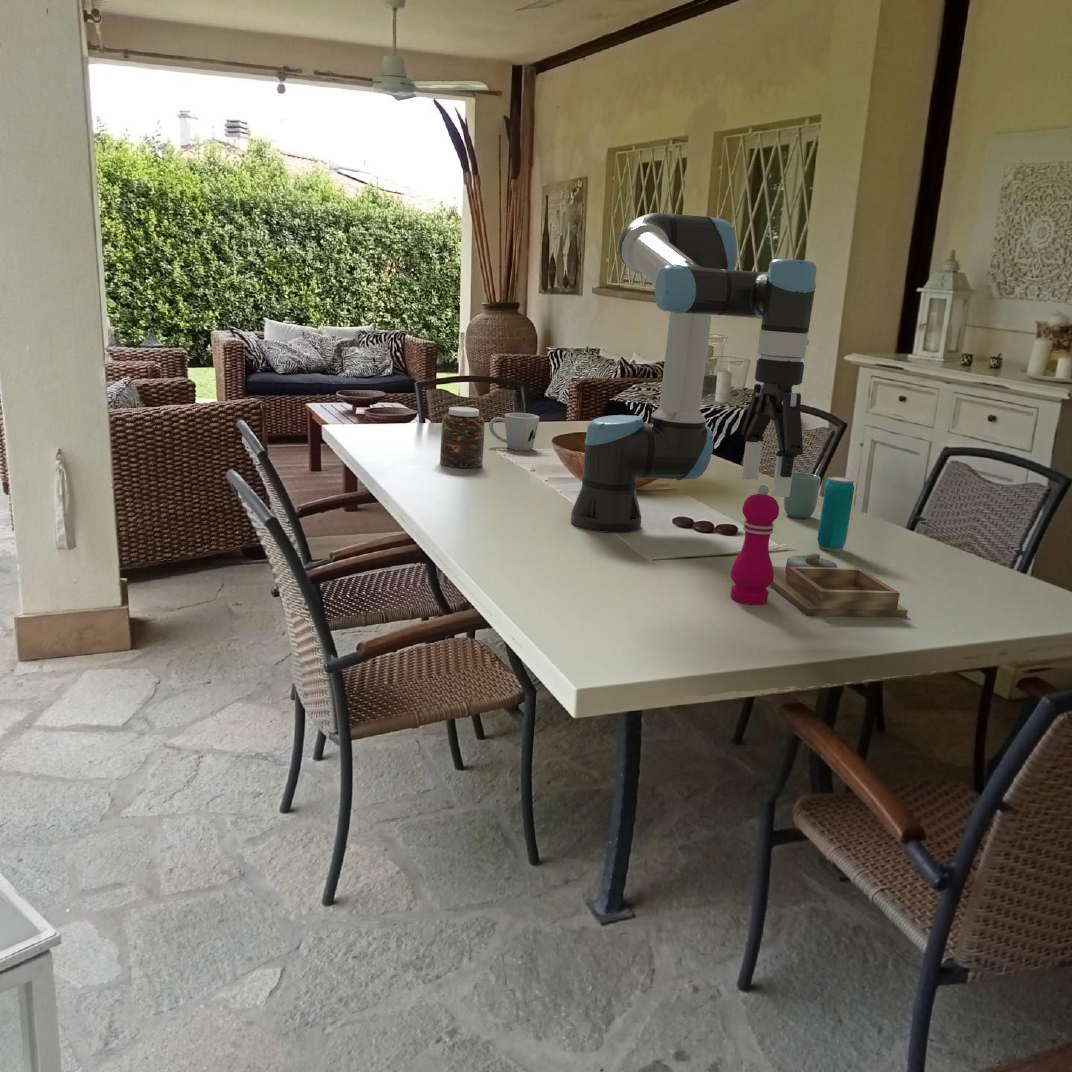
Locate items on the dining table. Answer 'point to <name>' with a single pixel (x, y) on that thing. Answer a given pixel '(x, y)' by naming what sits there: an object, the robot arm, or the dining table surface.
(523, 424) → the mug
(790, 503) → the cup
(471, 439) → the jar
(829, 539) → the beverage can
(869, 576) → the pulley board
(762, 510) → the pepper mill
